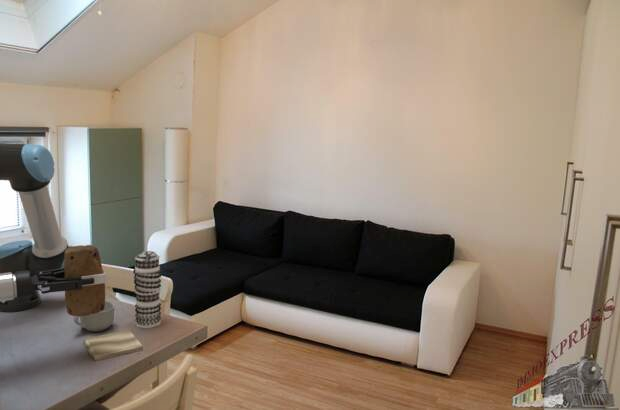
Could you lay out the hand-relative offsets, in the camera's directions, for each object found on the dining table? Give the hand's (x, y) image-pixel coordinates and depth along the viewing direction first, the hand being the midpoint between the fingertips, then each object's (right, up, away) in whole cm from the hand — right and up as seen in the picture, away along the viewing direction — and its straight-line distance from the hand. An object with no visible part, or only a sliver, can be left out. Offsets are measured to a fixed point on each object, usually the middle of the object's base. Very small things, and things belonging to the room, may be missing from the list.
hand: (101, 274), depth 155 cm
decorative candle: (+6, -20, +24) cm, 32 cm away
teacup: (-10, -21, +18) cm, 29 cm away
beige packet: (+1, -23, +6) cm, 24 cm away
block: (-4, -11, -1) cm, 12 cm away
